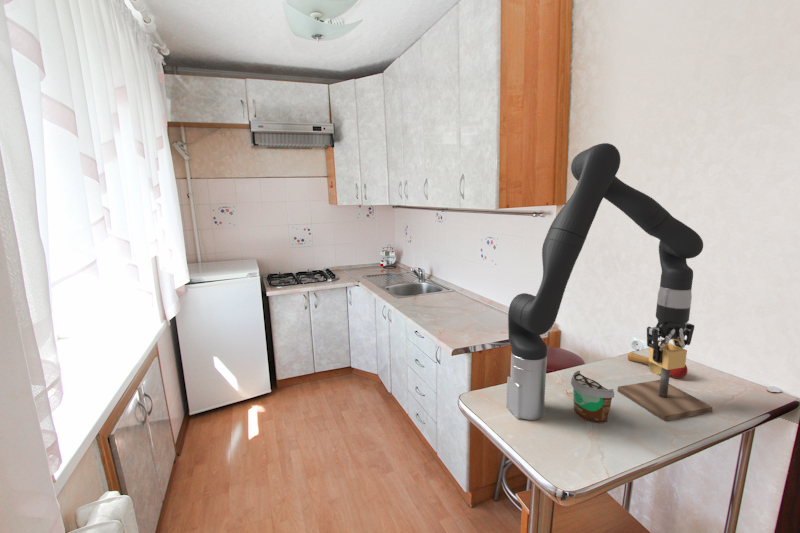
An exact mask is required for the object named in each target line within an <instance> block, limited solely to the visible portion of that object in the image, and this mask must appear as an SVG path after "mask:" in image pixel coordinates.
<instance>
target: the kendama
mask: <svg viewBox="0 0 800 533" xmlns="http://www.w3.org/2000/svg"><path fill="white" fill-rule="evenodd" d="M627 354H628V355H627V360H628V361H630V362H636V363H642V364H647V365H648V367H649V371H650V372H652V373H653V374H656V375H657V376H661V370H662V367H660V366H658V365H656V364H654V363H652V362H650V361H649V356H644V355H640V354H639V353H634V352H632V351H630V352H629V353H627ZM687 374H688V367H687V365H686V364H685V367H683V368H677V369H670V376H669V377H671V378H673V379H682V378H683V379H684V378H685V377H686V376H687Z"/></svg>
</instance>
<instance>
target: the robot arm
mask: <svg viewBox="0 0 800 533" xmlns="http://www.w3.org/2000/svg"><path fill="white" fill-rule="evenodd" d="M620 166H621V153H620V151H619V149H618V148H617V147H616V146H615V145H614V144H613V143H612V144H611V143H607V142H606V143H605V142H603V143H599V144H595V145H593V146H591V147H589V148H587V149H584V150H582V151H581V152H579V153H578V154H577V155H575V156H574V158H573V159H572V161H571V165H570V170H571V173H572V176H573V177H574V179H575V180H577V184H576V187H575V189H574V190H573V192H572V194H571V195H570V197H569V199H568V200H567V202H566V203H565V204H564V205H563V206H562V208H561V209H560V211H559V212H558V213H557V214H556V216H555V217H554V219H553V221H552V222H551V224H550V227H549V228H548V231H547V233H546V236H545V239H544V241H543V243H542V247H541V248H542V250H541V257H542V279H541V283H540V286H539V289H538V290H537V293H536V295H533V294H530V293H527V292H526V293H525V292H524V293H519V294H517V295H515V296H514V297H513V299H512V300H511V302H510V303H509V304H510V305H509V307H508V313H507V323H508V324H507V325H508V326H507V327H508V328H507V329H508V330H507V331H508V341H509V344H510V348H511V349H510V351H511V352H510V353H511V354H510V375H509V376H507V377H506V380H507V383H506V409H508V411H509V412H510V413H511V414H512V415H513V416H514V417H515V418H516V419H517V420H519V419H523V420H528V421H529V420H530V421H531V420H539V419H541V418H543V417H544V414H545V403H546V402H545V399H546V398H545V397H546V378H547V364H548V363H547V362H548V359H547V358H548V346H547V344H546V342H545V341H544V339H543V338H542V336H541V335H544V334H546V333H548V332H549V331H550V329H552V327H553V325H554V324H555V321H556V319H557V318H558V314H559V311H560V307H561V304H562V300H563V297H564V294H565V291H566V288H567V285H568V282H569V279H570V277H571V274H572V272H573V270H574V268H575V265H576V262H577V260H578V259H579V258H578V257H579V255H580V254H581V252H582V249H583V247H584V245H585V242H586V240H587V236H588V234H589V232H590V229H591V227H592V224H593V222H594V220H595V217H596V215H597V212H598V210H599V208H600V205H601V203H602V201H603V199H604V200H607V202H609V203H611V204H612V205H613V206H615V208H618V209H619V210H620V211H621V212H623V214H625V215H626V216H627V217H628V218H630V219H631V220H632V221H633V223H635V224H636V225H637V226H638V227H639V228H640V229H641V230H643V231H644V232H645V233H646V234H648V235H649V236H651V237H653V238H656V239H658V240H659V244H658V254H659V262H660V268H661V275H660V283H659V288H658V291H657V292H658V293H657V301H656V307H655V308H656V310H655V318H656V319H657V323H656V326H653V327H651V326H647V327H646V345H647V347H649V348H650V347H651V348H653V360H654V361H655V362H657V363H662V355H663V351H662V350H663V349H664V347H665V345H666V344H668V343H670V340H672V342H673V343H672V344H673V345H676V346H678V347H680V348H683V349H685V347H686V346H690V345H691V342H692V338H693V334H694V330H695V324H692V323H689V321H690V315H691V304H692V297H693V296H692V290H693V288H692V286H693V279H694V270H693V269H692V268H691V267H690V266H689V264H688V263H687V260H688V259H693V258H696V257H697V256H699V255H700V254H701V253H702V252H703V248H704V241H703V239H702V237H701V236H700V235H699V234H698V233H697V231H696V230H694V229H692V228H691V227H689V226H688V225H687V224H685V223H684V222H682V221H680V220H679V219H677V218H676V217H674V216H673V215H671V213H670V212H669V211H668V210H667V209H666V208H664V207H663V206H662V205H661V203H659V202H658V201H656V200H655V199H654V198H653V197H652V196H650V195H648V194H646V193H644V192H643V191H640V190H638V189H636V188H634V187H632V186H630V185H628V184H627V183H625V182H623V181H622V180H621V179H619V178H618V177H617V176H616V175H617V174H618V172H619V169H620ZM685 336H686V338H685ZM659 343H661V344H660V346H659V345H658V344H659Z"/></svg>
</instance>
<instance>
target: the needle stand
mask: <svg viewBox="0 0 800 533" xmlns="http://www.w3.org/2000/svg"><path fill="white" fill-rule="evenodd" d="M670 377H671V376H670V370H666V369H664V368H662V370H661V375H660V379H655V380H651V381H644V382H638V383H632V384H625V385H620V386H617V392H618V393H620V395H623V396H624V397H625V398H627V399H629V400H630V401H631V402H634V403H636V404H637V405H638V406H640V407H641V408H643V409H645V410H646V411H647V412H649V413H651V414H652V415H654V416H656V417H657V418H659V419H660V420H661V421H664V422H666V421H671V420H676V419H678V420H679V419H681V418H686V417H687V418H688V417H693V416H697V415H702V414H708V413H712V412H713V408H714V407H713V406H712V405H710V404H709V403H706V402H704V401H703V400H702V399H701V400H700V399H699V398H697V397H695V396H693V395H691V394H689V393H688V392H686V391H684V390H681V389H680V388H678V387H676V386H674V385H672V384H671V383H670Z"/></svg>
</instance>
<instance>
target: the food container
mask: <svg viewBox="0 0 800 533" xmlns="http://www.w3.org/2000/svg"><path fill="white" fill-rule="evenodd" d="M570 385H571V386H572V389H573V391H572V392H573V393H572V394H573V411H574V414H576V415H577V416H578V417H580V418H581V419H583V420H585V421H587V422H592V423H597V424H603V423H604V424H605V423H608V420H609V414H610V409H611V404H612V399H613V398H615V391H614V388H611V389H608V388H606V387H604V386H602V384H600V383H599V382H598V381H596V380H594V379H591V378H589V377H586V376H584V375H583V374H582V373H581V370H576V371H575V372H574V373H573V375H572V376H571V378H570Z"/></svg>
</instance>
